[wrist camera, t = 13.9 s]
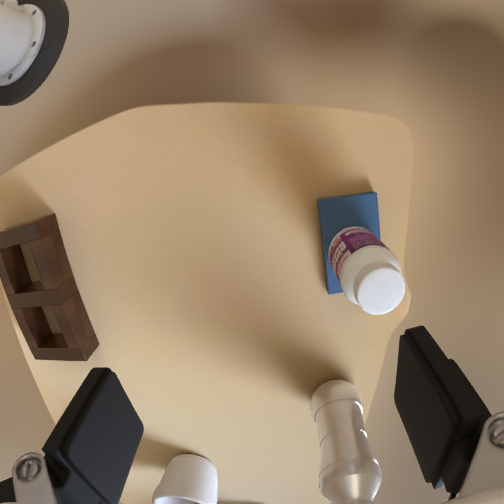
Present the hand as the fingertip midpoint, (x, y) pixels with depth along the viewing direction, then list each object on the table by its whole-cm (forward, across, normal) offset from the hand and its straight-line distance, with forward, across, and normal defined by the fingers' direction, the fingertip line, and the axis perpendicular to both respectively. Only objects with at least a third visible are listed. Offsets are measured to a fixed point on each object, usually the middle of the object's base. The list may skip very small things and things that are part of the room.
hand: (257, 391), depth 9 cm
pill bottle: (+23, -8, +5) cm, 25 cm away
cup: (+24, +20, +40) cm, 51 cm away
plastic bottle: (+24, -5, +24) cm, 34 cm away
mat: (+24, -9, +4) cm, 26 cm away
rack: (+25, +29, +4) cm, 38 cm away
